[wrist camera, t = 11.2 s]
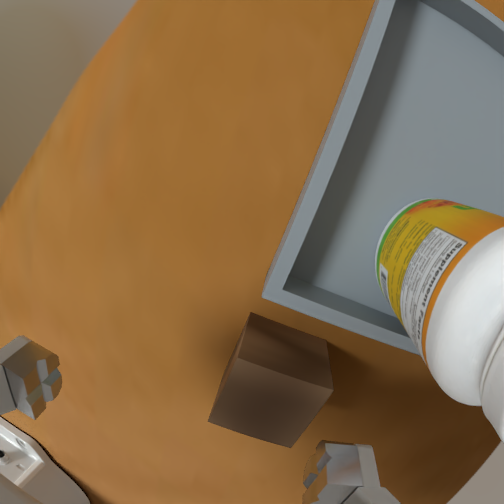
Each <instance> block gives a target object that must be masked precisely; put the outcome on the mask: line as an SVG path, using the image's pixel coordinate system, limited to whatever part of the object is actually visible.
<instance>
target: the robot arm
mask: <svg viewBox="0 0 504 504" xmlns="http://www.w3.org/2000/svg"><path fill="white" fill-rule="evenodd" d="M59 365H60V363H59V358H58V356H57V355H56V354H54V353H52V352H51V351H49V350H47V349H45V348H44V347H42V346H40V345H39V344H37V343H35V342H34V341H32V340H30V339H28V338H27V337H25V336H24V335H22V336H18V337H17V338H15V339H14V340H12V341H11V342H10V343H8V344H7V345H6V346H4V347H3V348H2V349H0V415H2V414H5V413H7V412H10V411H13V410H16V408H17V409H18V410H20V411H21V412H23V413H25V414H26V415H28V416H29V417H31V418H33V419H34V420H36V419H37V418H38V416H39V415H40V414H41V413H42V412H43V411H44V410H45V409H46V402H48V401H52V400H54V399H55V398H56V397H57V395H58V394H59V392H60V389H61V387H62V376H61V374H60V372H59V370H58V369H57V367H58V366H59ZM303 484H304V485H305V487H306V488H307V490H306V492H305V493H304V494H303V502H302V504H401V503H400V502H399V501H398V500H397V499H396V498H395V497H394V496H393V495H392V494H391V493H390V492H389V491H388V490H387V489H386V488H385V487H380V481H379V476H378V471H377V466H376V461H375V456H374V452H373V447H372V446H371V445H363V444H353V443H344V442H335V441H327V440H322V441H321V442H319V444H318V446H317V447H316V454H314V455H312V456H311V457H310V458H309V460H308V462H307V464H306V467H305V470H304V475H303ZM0 504H90V501H89V499H88V498H87V496H86V495H85V493H84V492H83V491H82V490H81V489H80V488H79V487H78V485H77V484H76V483H75V482H74V481H73V480H72V479H70V478H69V477H68V476H67V475H66V474H65V473H64V472H63V471H62V470H61V469H60V468H59V467H57V466H56V465H55V464H54V463H53V462H52V461H51V459H50V458H49V457H48V456H47V454H46V453H45V452H44V450H43V449H42V448H41V447H40V446H39V444H38V443H37V442H36V441H35V440H33V439H32V438H31V437H29V436H28V435H26V434H25V433H23V432H22V431H20V430H18V429H17V428H15V427H14V426H13V425H11V424H10V423H8V422H7V421H5V420H4V419H2V418H1V417H0Z"/></svg>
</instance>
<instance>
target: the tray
mask: <svg viewBox="0 0 504 504" xmlns="http://www.w3.org/2000/svg"><path fill="white" fill-rule="evenodd" d="M426 198H439V199H445V200H449V201H453V202H456V203H460V204H463V205H467V206H471V207H474V208H477V209H481V210H484V211H487V212H490V213H493V214H496V215H499V216H502V217H504V22H503V21H501V20H500V19H499V18H498V17H496V16H495V15H494V14H492V13H491V12H490V11H488V10H487V9H485V8H484V7H483V6H481V5H480V4H478V3H477V2H476V1H474V0H375V2H374V5H373V8H372V11H371V13H370V16H369V19H368V22H367V24H366V27H365V30H364V32H363V35H362V38H361V40H360V43H359V46H358V49H357V51H356V54H355V57H354V59H353V62H352V64H351V67H350V70H349V72H348V75H347V78H346V80H345V83H344V85H343V88H342V91H341V93H340V96H339V98H338V101H337V104H336V106H335V109H334V111H333V114H332V116H331V119H330V122H329V124H328V127H327V129H326V132H325V134H324V137H323V139H322V142H321V144H320V147H319V149H318V152H317V154H316V157H315V159H314V162H313V164H312V167H311V169H310V172H309V174H308V177H307V179H306V182H305V184H304V187H303V189H302V191H301V194H300V196H299V199H298V201H297V204H296V206H295V209H294V211H293V213H292V216H291V218H290V221H289V223H288V225H287V228H286V230H285V233H284V235H283V237H282V240H281V242H280V245H279V247H278V249H277V252H276V254H275V257H274V259H273V261H272V264H271V266H270V268H269V271H268V273H267V275H266V279H265V284H264V288H263V292H262V298H265V299H267V300H270V301H272V302H275V303H278V304H280V305H283V306H285V307H288V308H291V309H293V310H296V311H298V312H301V313H304V314H306V315H309V316H312V317H314V318H317V319H320V320H322V321H325V322H328V323H330V324H333V325H336V326H338V327H341V328H344V329H347V330H349V331H352V332H355V333H358V334H360V335H363V336H366V337H369V338H372V339H374V340H377V341H380V342H383V343H386V344H389V345H391V346H394V347H397V348H400V349H403V350H406V351H409V352H412V353H415V354H418V355H420V353H419V352H418V350H417V348H416V346H415V345H414V343H413V341H412V340H411V338H410V337H409V335H408V333H407V332H406V330H405V329H404V327H403V325H402V324H401V322H400V321H399V319H398V318H397V316H396V314H395V313H394V311H393V310H392V308H391V307H390V305H389V303H388V302H387V300H386V299H385V297H384V295H383V293H382V291H381V289H380V287H379V284H378V282H377V278H376V272H375V254H376V249H377V244H378V241H379V238H380V236H381V234H382V232H383V230H384V228H385V227H386V225H387V224H388V222H389V221H390V220H391V219H392V217H393V216H394V215H395V214H396V213H397V212H398V211H399V210H401V209H402V208H403V207H405V206H406V205H408V204H410V203H412V202H415V201H417V200H421V199H426Z"/></svg>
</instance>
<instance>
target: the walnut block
mask: <svg viewBox="0 0 504 504" xmlns="http://www.w3.org/2000/svg"><path fill="white" fill-rule="evenodd" d="M333 391H334V388H333V381H332V374H331V368H330V361H329V355H328V349H327V342H326V340H324V339H321V338H318V337H316V336H313V335H310V334H307V333H305V332H302V331H299V330H296V329H294V328H291V327H288V326H286V325H283V324H280V323H278V322H275V321H272V320H270V319H267V318H265V317H262V316H259V315H257V314H254V313H252V312H250V315H249V317H248V319H247V322H246V324H245V326H244V328H243V331H242V333H241V335H240V338H239V340H238V342H237V345H236V347H235V349H234V351H233V354H232V356H231V358H230V360H229V363H228V365H227V367H226V369H225V372H224V375H223V378H222V381H221V384H220V387H219V390H218V393H217V396H216V398H215V401H214V404H213V407H212V410H211V413H210V416H209V419H208V422H210V423H213V424H216V425H219V426H221V427H224V428H227V429H230V430H233V431H236V432H239V433H242V434H245V435H248V436H251V437H254V438H257V439H261V440H264V441H267V442H271V443H274V444H278V445H282V446H285V447H289V448H291V447H292V446H293V445H294V443H295V442H296V441H297V440H298V438H299V437H300V436H301V434H302V433H303V432H304V431H305V429H306V428H307V427H308V425H309V424H310V423H311V421H312V420H313V419H314V417H315V416H316V415H317V413H318V412H319V411H320V409H321V408H322V406H323V405H324V404H325V402H326V401H327V399H328V398H329V397H330V395H331V394H332V392H333Z"/></svg>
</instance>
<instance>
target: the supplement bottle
mask: <svg viewBox="0 0 504 504" xmlns="http://www.w3.org/2000/svg"><path fill="white" fill-rule="evenodd" d="M375 272H376V278H377V282H378V284H379V287H380V289H381V291H382V293H383V295H384V297H385V299H386V300H387V302H388V303H389V305H390V307H391V308H392V310H393V311H394V313H395V314H396V316H397V318H398V319H399V321H400V322H401V324H402V325H403V327H404V329H405V330H406V332H407V333H408V335H409V337H410V338H411V340H412V341H413V343H414V345H415V346H416V348H417V350H418V352H419V353H420V355H421V357H422V358H423V360H424V362H425V364H426V366H427V367H428V369H429V371H430V373H431V374H432V376H433V378H434V379H435V380H436V382H437V383H438V385H439V386H440V388H441V389H442V390H443V391H444V392H445V393H446V394H447V395H448V396H450V397H451V398H452V399H454V400H456V401H458V402H460V403H463V404H467V405H472V406H482V409H483V412H484V414H485V416H486V418H487V419H488V420H489V422H490V423H491V424H492V426H493V427H494V429H495V430H496V432H497V434H498V435H499V437H500V439H501V440H502V442H503V443H504V217H502V216H499V215H496V214H493V213H490V212H487V211H484V210H481V209H477V208H474V207H471V206H467V205H463V204H460V203H456V202H453V201H449V200H445V199H439V198H426V199H421V200H417V201H415V202H412V203H410V204H408V205H406V206H405V207H403V208H402V209H401V210H399V211H398V212H397V213H396V214H395V215H394V216H393V217H392V219H391V220H390V221H389V222H388V224H387V225H386V227H385V228H384V230H383V232H382V234H381V236H380V238H379V241H378V244H377V249H376V254H375Z"/></svg>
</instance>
